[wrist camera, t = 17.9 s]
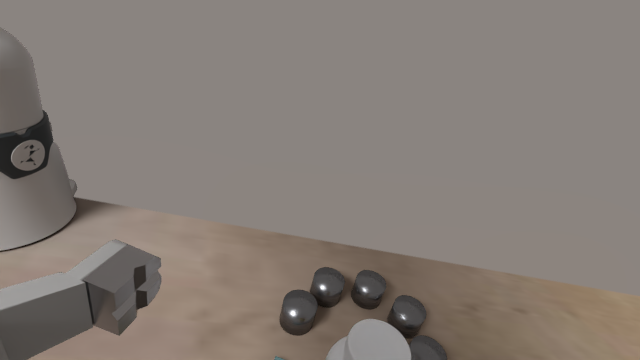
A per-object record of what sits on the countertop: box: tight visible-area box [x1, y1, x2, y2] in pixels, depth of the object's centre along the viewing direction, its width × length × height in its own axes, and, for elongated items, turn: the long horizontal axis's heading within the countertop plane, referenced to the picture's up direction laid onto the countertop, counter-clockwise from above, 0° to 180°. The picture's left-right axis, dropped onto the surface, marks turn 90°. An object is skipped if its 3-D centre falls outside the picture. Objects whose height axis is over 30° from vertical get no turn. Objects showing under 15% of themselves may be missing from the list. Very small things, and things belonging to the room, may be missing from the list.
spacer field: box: [280, 267, 447, 360], centre depth 42 cm, size 19×12×3 cm, turn 75°
